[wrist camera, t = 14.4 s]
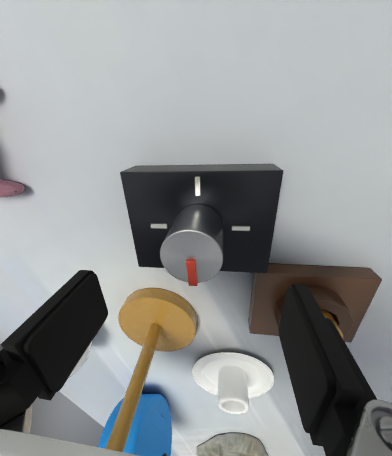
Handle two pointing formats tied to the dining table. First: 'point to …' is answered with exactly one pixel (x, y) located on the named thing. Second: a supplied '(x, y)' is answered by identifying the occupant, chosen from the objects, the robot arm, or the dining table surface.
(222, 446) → the ceramic cottage
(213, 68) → the dining table surface
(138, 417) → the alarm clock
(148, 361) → the desk lamp
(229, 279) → the dining table surface
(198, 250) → the dimmer knob
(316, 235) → the dining table surface
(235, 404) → the candle holder
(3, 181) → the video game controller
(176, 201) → the dimmer panel
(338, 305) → the switch block
